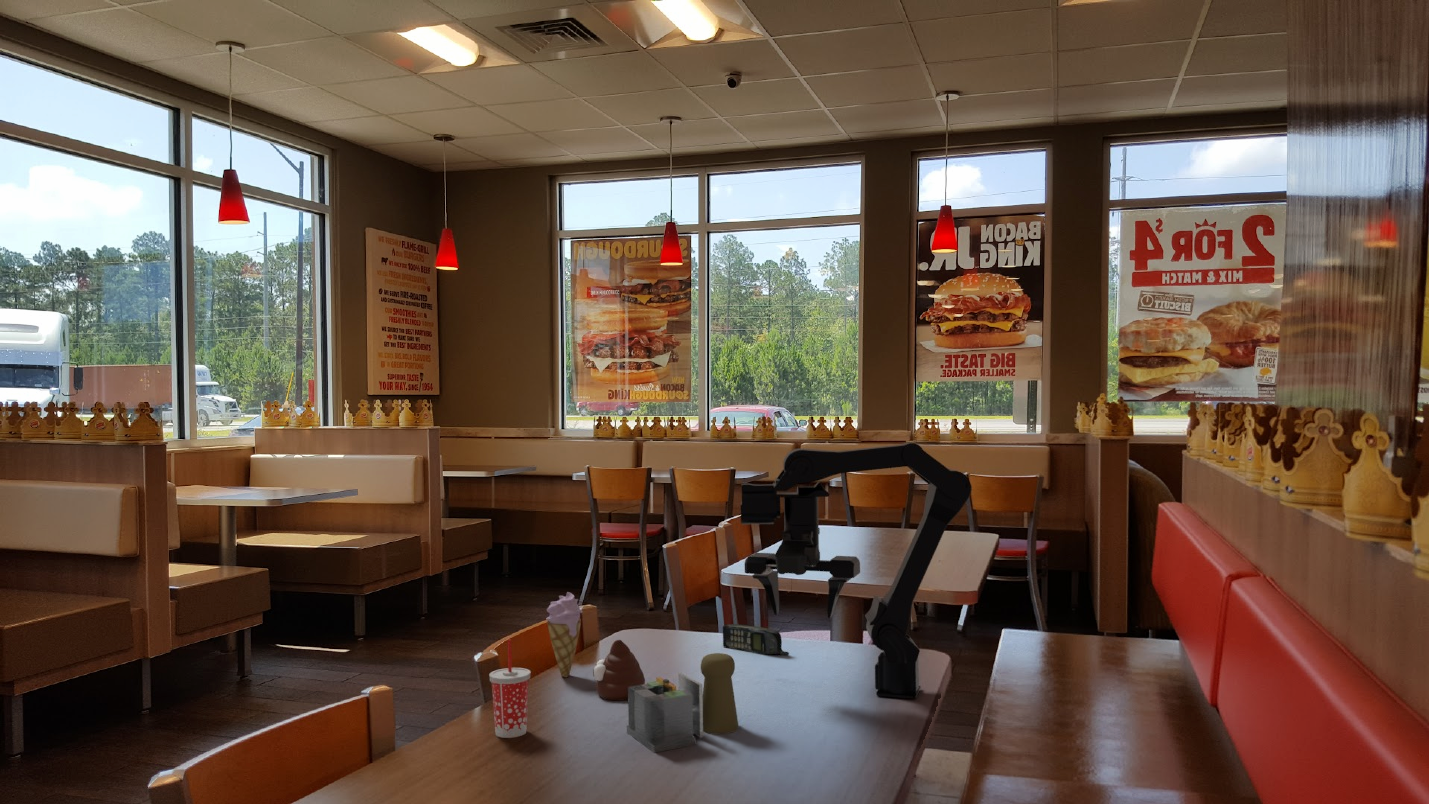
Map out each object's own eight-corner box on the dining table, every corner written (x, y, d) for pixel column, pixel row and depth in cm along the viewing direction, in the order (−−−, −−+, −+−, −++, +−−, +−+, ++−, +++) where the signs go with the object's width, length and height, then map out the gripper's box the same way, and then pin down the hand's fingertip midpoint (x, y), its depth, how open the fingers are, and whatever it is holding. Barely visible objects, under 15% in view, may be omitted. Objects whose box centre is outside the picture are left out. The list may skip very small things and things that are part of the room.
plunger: (682, 723, 151) (681, 670, 151) (703, 736, 145) (702, 681, 145) (655, 728, 149) (654, 674, 149) (675, 742, 143) (674, 686, 143)
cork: (734, 734, 146) (733, 660, 146) (694, 732, 147) (693, 659, 147) (741, 721, 152) (740, 650, 152) (703, 720, 153) (702, 649, 153)
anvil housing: (666, 725, 151) (665, 678, 151) (695, 744, 142) (694, 694, 142) (626, 732, 148) (625, 684, 148) (654, 752, 139) (653, 701, 139)
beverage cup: (539, 728, 151) (537, 636, 151) (518, 741, 145) (516, 645, 145) (503, 724, 153) (502, 633, 153) (482, 737, 147) (480, 643, 147)
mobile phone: (719, 624, 199) (781, 632, 190) (729, 621, 202) (790, 629, 192) (720, 649, 199) (782, 658, 190) (730, 646, 202) (791, 654, 192)
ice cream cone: (591, 674, 180) (590, 592, 180) (568, 683, 175) (567, 598, 175) (563, 669, 184) (562, 589, 184) (540, 678, 179) (539, 594, 179)
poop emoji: (642, 701, 164) (641, 645, 164) (590, 702, 164) (589, 646, 164) (647, 684, 174) (646, 631, 174) (598, 685, 174) (597, 632, 174)
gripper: (733, 527, 162) (734, 623, 162) (845, 531, 156) (847, 630, 155) (754, 520, 172) (755, 609, 172) (860, 522, 166) (861, 616, 166)
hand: (802, 616), depth 166 cm, fingers open, 9 cm apart
